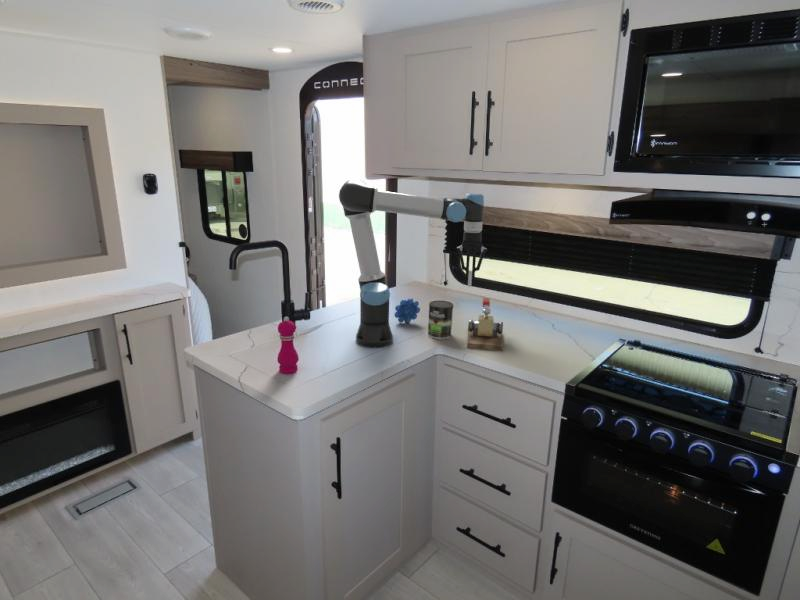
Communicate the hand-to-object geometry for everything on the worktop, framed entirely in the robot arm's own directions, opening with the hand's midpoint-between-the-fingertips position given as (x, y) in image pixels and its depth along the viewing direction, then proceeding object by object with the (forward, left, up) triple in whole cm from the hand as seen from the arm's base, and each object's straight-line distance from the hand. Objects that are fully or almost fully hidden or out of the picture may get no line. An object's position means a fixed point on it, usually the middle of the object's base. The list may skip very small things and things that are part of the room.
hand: (469, 285), depth 209 cm
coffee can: (-11, -8, -21) cm, 25 cm away
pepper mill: (-61, -55, -21) cm, 85 cm away
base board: (+8, -10, -21) cm, 24 cm away
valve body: (+8, -10, -19) cm, 22 cm away
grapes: (-27, +5, -21) cm, 35 cm away
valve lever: (+8, -4, -9) cm, 12 cm away
